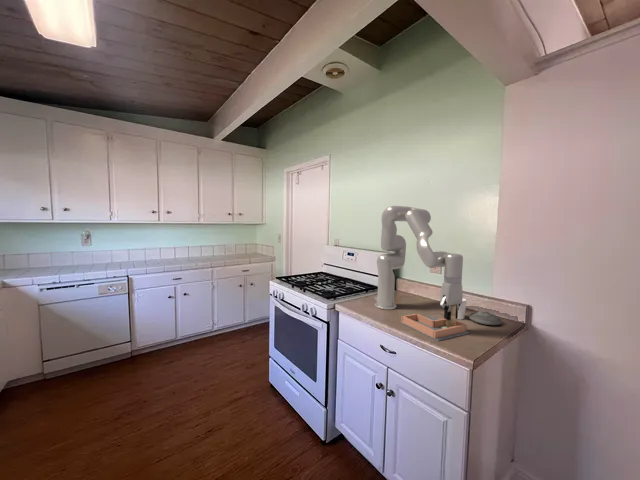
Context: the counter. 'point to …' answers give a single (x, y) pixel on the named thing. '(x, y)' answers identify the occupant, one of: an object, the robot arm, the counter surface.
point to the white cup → (462, 309)
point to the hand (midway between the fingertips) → (450, 318)
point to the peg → (453, 316)
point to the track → (434, 327)
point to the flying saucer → (485, 318)
